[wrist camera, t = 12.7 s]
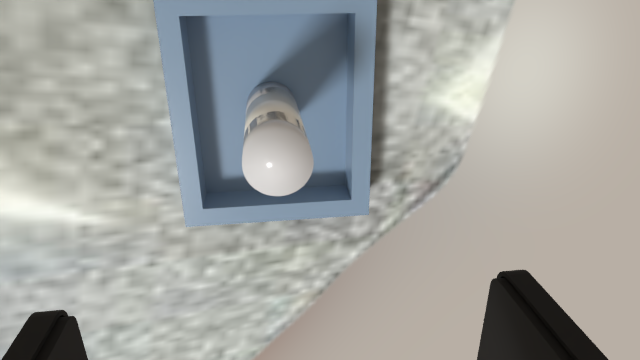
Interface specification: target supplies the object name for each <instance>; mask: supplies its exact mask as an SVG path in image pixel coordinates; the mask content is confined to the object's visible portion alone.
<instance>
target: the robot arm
mask: <svg viewBox="0 0 640 360" xmlns="http://www.w3.org/2000/svg"><path fill="white" fill-rule="evenodd" d="M2 360H88V358H87V355H86V351H85V348H84V344H83V341H82V337H81V334H80V330H79V327H78V323H77V320H76V318H75V317H74V316H68V315H67V313H66V312H65V311H64V310H56V311H45V312H35V313H33V314H32V315H31V316H30V317H29V318H28V320H27V321H26V323H25V324H24V326H23V328H22V329H21V331H20V332H19V334H18V335H17V337H16V338H15V340H14V341H13V343H12V345H11V346H10V348H9V349H8V351H7V352H6V354H5V355H4V357H3V358H2ZM477 360H608V359H607V357H605V355H604V354H603V353H602V352H601V351H600V350H599V349H598V348H597V347H596V345H595V344H594V343H593V342H592V341H591V340H590V339H589V338H588V337H587V336H586V334H585V333H584V332H583V331H582V330H581V329H580V328H579V327H578V326H577V325H576V324H575V322H574V321H573V320H572V319H571V318H570V317H569V316H568V315H567V314H566V313H565V312H564V310H563V309H562V308H561V307H560V306H559V305H558V304H557V303H556V302H555V301H554V299H553V298H552V297H551V296H550V295H549V294H548V293H547V292H546V291H545V290H544V289H543V288H542V286H541V285H540V284H539V283H538V282H537V281H536V280H535V279H534V278H533V277H532V276H531V274H530V273H529V272H527V271H526V270H514V271H503V272H500V273H499V274H498V276H497V278H495V279H493V280H492V281H491V284H490V289H489V295H488V301H487V307H486V312H485V318H484V323H483V329H482V335H481V340H480V346H479V352H478V357H477Z"/></svg>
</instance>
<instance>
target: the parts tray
mask: <svg viewBox="0 0 640 360" xmlns="http://www.w3.org/2000/svg"><path fill="white" fill-rule="evenodd" d="M153 1H154V8H155V15H156V22H157V29H158V36H159V43H160V50H161V57H162V64H163V71H164V78H165V85H166V92H167V99H168V106H169V113H170V120H171V127H172V134H173V141H174V148H175V155H176V162H177V169H178V176H179V183H180V190H181V197H182V204H183V211H184V218H185V225H186V227H191V226H206V225H221V224H236V223H251V222H266V221H281V220H296V219H312V218H327V217H342V216H357V215H369V195H370V169H371V144H372V118H373V93H374V67H375V42H376V16H377V0H153ZM265 82H278V83H281V84H283V85H285V86H286V87H287V88H289V89H290V90H291V92H292V93H293V95H294V97H295V99H296V103H297V106H298V109H299V112H300V115H301V119H302V122H303V125H304V128H305V132H306V135H307V138H308V141H309V144H310V148H311V151H312V154H313V160H314V165H313V171H312V174H311V176H310V178H309V180H308V181H307V183H306V184H305V185H304V186H303V187H302V188H300V189H299V190H298V191H296V192H294V193H292V194H289V195H285V196H270V195H266V194H263V193H261V192H259V191H257V190H256V189H254V188H253V187H252V186H251V185H250V184H249V183H248V181H247V180H246V178H245V176H244V173H243V170H242V154H243V142H244V129H245V117H246V105H247V99H248V96H249V94H250V93H251V91H252V90H253V89H254V88H255V87H256V86H258V85H260V84H262V83H265Z"/></svg>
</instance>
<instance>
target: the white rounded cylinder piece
mask: <svg viewBox="0 0 640 360" xmlns="http://www.w3.org/2000/svg"><path fill="white" fill-rule="evenodd" d="M313 165H314V160H313V154H312V151H311V148H310V144H309V141H308V138H307V135H306V132H305V128H304V125H303V122H302V119H301V115H300V112H299V109H298V106H297V103H296V99H295V97H294V95H293V93H292V92H291V90H290V89H289V88H287V87H286V86H285V85H283V84H281V83H278V82H265V83H262V84H260V85H258V86H256V87H255V88H254V89H253V90H252V91H251V93H250V94H249V96H248V99H247V105H246V117H245V129H244V142H243V154H242V170H243V173H244V176H245V178H246V180H247V181H248V183H249V184H250V185H251V186H252V187H253V188H254V189H256V190H257V191H259V192H261V193H263V194H266V195H270V196H285V195H289V194H292V193H294V192H296V191H298V190H299V189H300V188H302V187H303V186H304V185H305V184H306V183H307V181H308V180H309V178H310V176H311V174H312V171H313Z"/></svg>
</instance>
